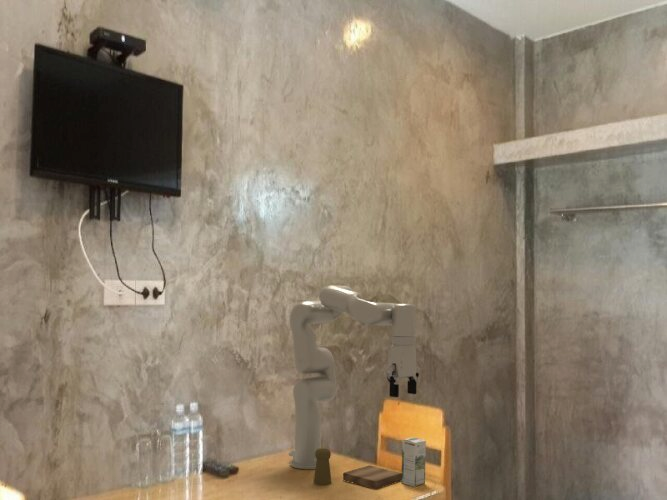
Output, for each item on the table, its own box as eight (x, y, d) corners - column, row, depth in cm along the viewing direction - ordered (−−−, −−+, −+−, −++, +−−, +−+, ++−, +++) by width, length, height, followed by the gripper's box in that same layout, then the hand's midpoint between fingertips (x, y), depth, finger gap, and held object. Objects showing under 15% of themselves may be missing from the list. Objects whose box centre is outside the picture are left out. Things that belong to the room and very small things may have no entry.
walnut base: (343, 480, 212) (343, 472, 212) (369, 472, 222) (369, 465, 222) (375, 489, 202) (375, 481, 203) (401, 480, 213) (401, 473, 213)
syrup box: (411, 480, 213) (412, 436, 215) (425, 484, 209) (426, 439, 210) (401, 483, 209) (401, 439, 211) (415, 487, 205) (415, 442, 206)
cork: (329, 486, 205) (330, 451, 206) (311, 484, 206) (312, 450, 207) (333, 480, 211) (333, 447, 212) (315, 479, 212) (316, 446, 213)
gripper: (409, 340, 213) (409, 391, 212) (378, 342, 200) (377, 396, 199) (428, 341, 208) (427, 393, 207) (397, 343, 195) (396, 399, 194)
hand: (403, 395), depth 203 cm, fingers open, 9 cm apart
